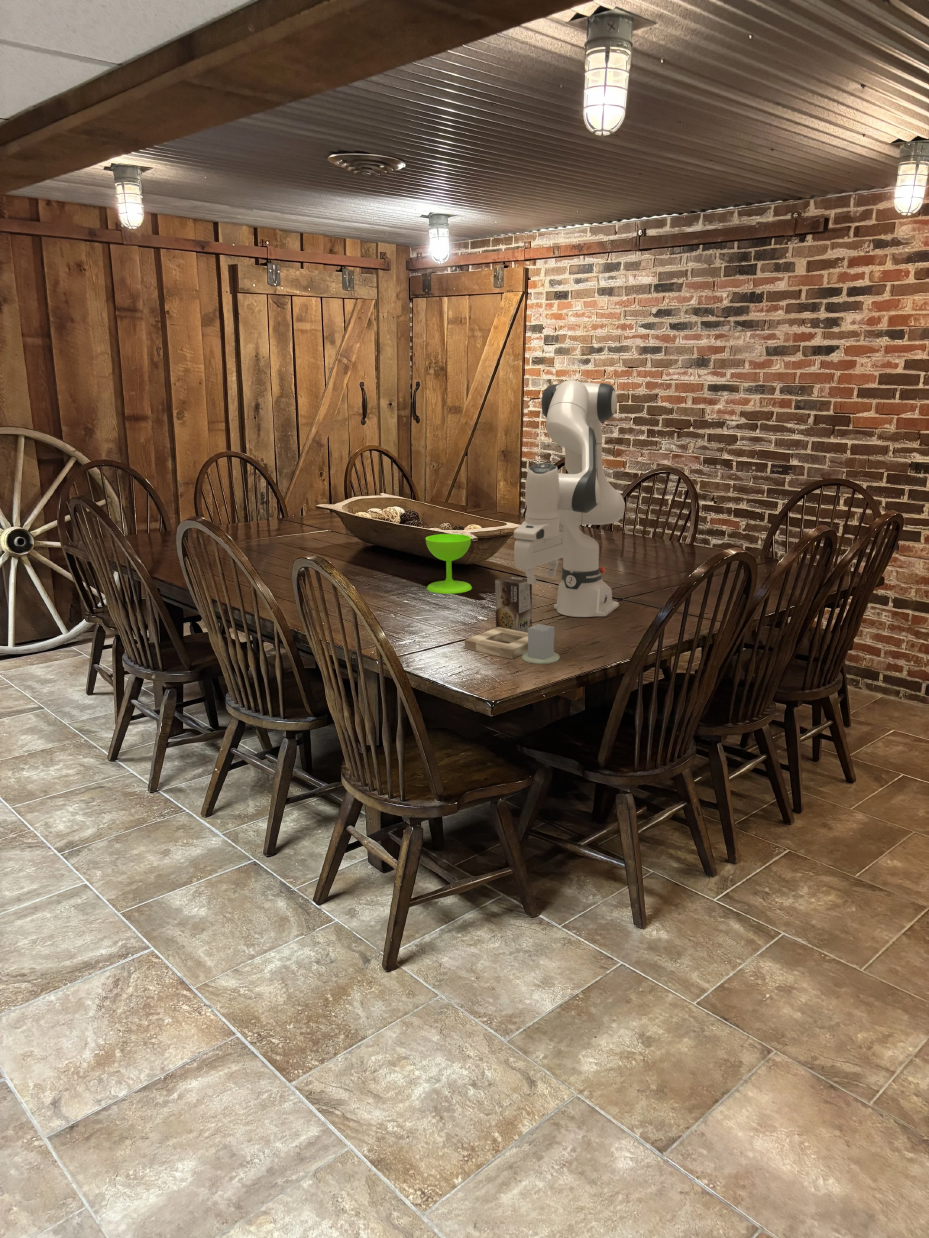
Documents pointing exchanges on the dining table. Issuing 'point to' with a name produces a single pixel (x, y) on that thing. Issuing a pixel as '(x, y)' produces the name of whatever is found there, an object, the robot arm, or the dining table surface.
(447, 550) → the wineglass
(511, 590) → the coffee box
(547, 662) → the pad
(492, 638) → the pocket board
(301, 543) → the dining table surface
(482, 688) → the dining table surface
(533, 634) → the block
